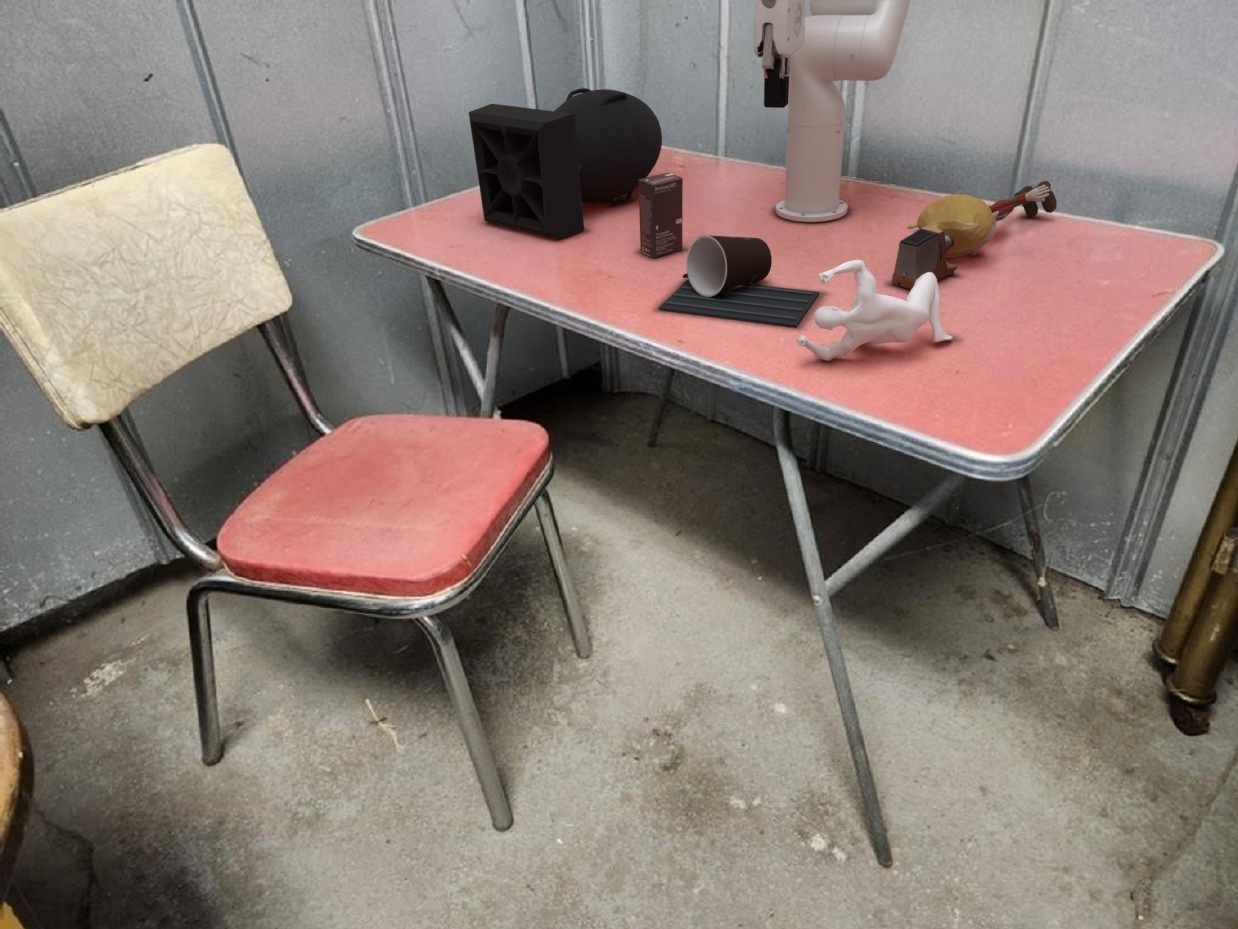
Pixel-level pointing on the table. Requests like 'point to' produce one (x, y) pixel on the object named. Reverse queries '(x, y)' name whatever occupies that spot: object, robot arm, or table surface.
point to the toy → (980, 216)
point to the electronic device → (922, 257)
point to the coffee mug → (726, 263)
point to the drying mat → (745, 304)
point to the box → (660, 214)
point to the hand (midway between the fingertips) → (776, 105)
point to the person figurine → (877, 313)
